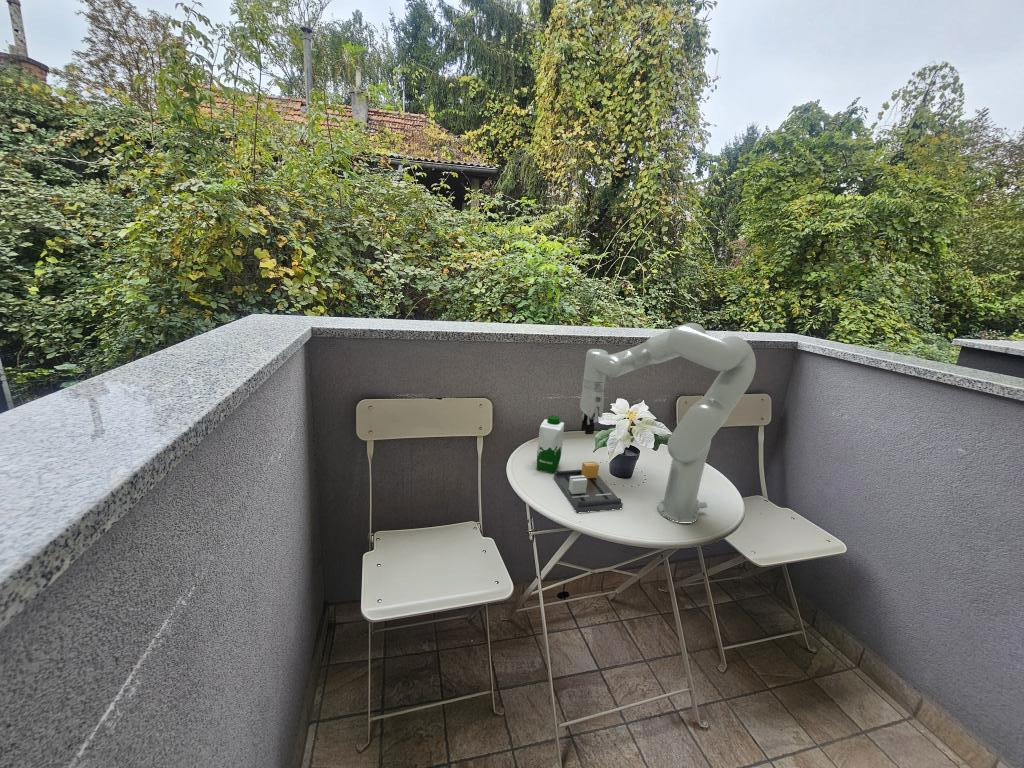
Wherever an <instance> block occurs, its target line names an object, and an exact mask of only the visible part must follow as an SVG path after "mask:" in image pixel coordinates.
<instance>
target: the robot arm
mask: <svg viewBox="0 0 1024 768" xmlns="http://www.w3.org/2000/svg"><path fill="white" fill-rule="evenodd" d="M585 354H586V356H585V361H584V362H585V364H584V370H583V378H582V379H583V380H582V391H581V395H580V402H579V409H580V410H581V413H582V416H581V419H582V421H581V427H580V428H581V431H583V432H584V434H585V435H594V434H595V433H594V432H595V425H597V424H596V423H599V422H600V418H603V414H604V402H605V401H604V399H605V395H604V394H605V393H604V390H605V383H606V377H609V378H618V377H620V376H623V375H625V374H627V373H630V372H632V371H635V370H638V369H641V368H644V367H646V366H649V365H653V364H656V365H657V364H661V363H662V364H663V363H664V362H667V361H670V360H672V359H676V358H679V357H682V358H683V359H686V360H688V361H691V362H693V363H695V364H698V365H700V366H703V367H705V368H708V369H711V370H713V371H716V372H717V371H718V372H720V373H719V374H718V375H717V376H716V378H715V379H714V381H713V383H712V384H711V386H710V387H709V388H708V390H707V391H706V393H705V394H704V395H703V396H702V398H700V399H699V400H698V401H696V402H695V403H693V404H692V405H691V406H690V407H689V409H688V410H687V411H686V412H685V413H684V415H683V416H682V418H681V419H680V421H679V423H678V425H676V427H675V429H674V430H673V431H672V433H671V434H670V436H669V438H668V440H667V451H668V454H669V455H670V457H671V459H672V460H671V463H670V469H669V474H668V478H667V483H666V488H665V493H664V499H663V500H661V501H659V502H658V504H657V511H658V510H659V511H658V513H659V512H660V513H661V514H662V515H664V516H665V517H667V518H669V519H671V520H674V521H678V522H693V521H695V520H698V519H697V518H699V513H698V511H699V509H707V508H708V504H707V502H706V501H702V502H701V501H699V499H698V495H699V490H700V486H701V481H702V476H703V473H704V469H705V465H706V461H707V457H708V454H709V451H710V448H711V445H712V439H713V437H714V436H715V435H716V433H717V432H718V430H720V428H721V427H722V426H723V425H724V424H725V423H726V422H727V420H728V418H729V416H730V414H731V413H732V411H733V410H734V409H735V407H736V406H737V404H738V403H739V402H740V400H741V399H742V398H743V396H744V395H745V393H746V391H747V390H748V388H749V387H750V386H751V385H750V384H752V382H753V379H754V375H755V372H756V367H757V362H756V356H755V352H754V350H753V348H752V347H751V345H750V344H749V343H748V342H747V341H746V340H745V339H743V338H742V337H739V336H727V337H723V338H722V339H721V338H718V337H715V336H712V335H709V334H708V333H707V332H706V330H705V327H703V326H702V325H701V324H699V323H696V322H688V323H687V322H686V323H685V324H681V325H677V326H676V327H675V328H673V329H669V330H668V331H664V332H662V333H659V334H657V335H654V336H652V337H649V338H648V339H647V340H646V341H644V342H642V343H640V344H638V345H636V346H633V347H630V348H628V349H625V350H623V351H619V352H616V353H613V354H612V353H611V354H609V352H608V351H607V350H605V349H600V348H590V349H588V350H587V352H586V353H585ZM660 513H659V514H660ZM661 514H660V515H661ZM662 515H661V516H662ZM664 516H663V517H664ZM665 517H664V518H665ZM667 518H666V519H667ZM669 519H668V520H669ZM671 520H670V521H671ZM695 522H696V521H695Z"/></svg>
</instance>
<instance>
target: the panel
mask: <svg viewBox="0 0 1024 768" xmlns="http://www.w3.org/2000/svg"><path fill="white" fill-rule="evenodd" d="M581 471H582V469H569V470H556V472H555V474H554V473H553V480H554V482H556V484H557V485H558V487H559V489H560V490H561V492H562V494H563V495H564V496H565V498H566V500H568V502H569V503H571V504H570V505H571V506H573V507H572V508H573V510H574V511H575V510H576V511H575V512H576V513H577V514H580V513H579V512H586V513H591V512H590V511H596V512H601V511H600V510H606V511H613V510H612V509H617V510H621V509H620V508H622V509H623V506H624V503H623V502H622V498H620V497H618V496H617V495H616V494H615V493H614V492H613V490H612V489H611V488H610V487H609V486H608V484H607V483H606V482H605V481H604V480H603V478H601V477H600V476H599V475H597V478H588V479H587V487H586V493H580V494H571V492H570V491H569V482H570V476H582V475H581ZM588 511H589V512H588Z"/></svg>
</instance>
